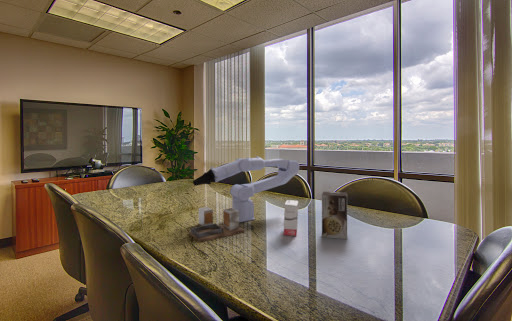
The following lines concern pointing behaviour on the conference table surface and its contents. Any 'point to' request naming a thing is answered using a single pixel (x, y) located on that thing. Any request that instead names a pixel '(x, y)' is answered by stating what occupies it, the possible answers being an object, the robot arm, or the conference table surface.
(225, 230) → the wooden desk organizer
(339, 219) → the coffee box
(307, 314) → the conference table surface
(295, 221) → the ink box
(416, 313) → the conference table surface
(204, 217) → the grey rectangular block
